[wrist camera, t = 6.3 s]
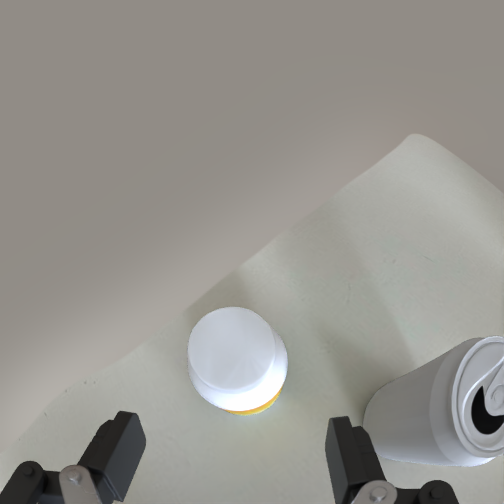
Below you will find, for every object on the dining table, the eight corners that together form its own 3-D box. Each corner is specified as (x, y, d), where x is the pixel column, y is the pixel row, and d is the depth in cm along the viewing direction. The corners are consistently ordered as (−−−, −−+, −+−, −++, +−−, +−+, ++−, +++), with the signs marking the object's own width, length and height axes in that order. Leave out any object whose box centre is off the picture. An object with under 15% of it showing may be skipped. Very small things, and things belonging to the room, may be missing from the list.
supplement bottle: (296, 370, 21) (315, 328, 13) (255, 429, 19) (247, 430, 11) (236, 334, 23) (218, 272, 15) (195, 389, 21) (148, 358, 13)
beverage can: (342, 421, 19) (416, 407, 9) (400, 364, 21) (490, 300, 11) (393, 474, 16) (493, 492, 6) (446, 415, 18) (554, 381, 8)
